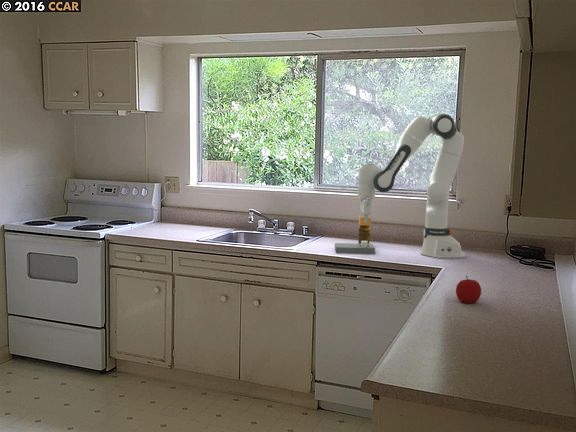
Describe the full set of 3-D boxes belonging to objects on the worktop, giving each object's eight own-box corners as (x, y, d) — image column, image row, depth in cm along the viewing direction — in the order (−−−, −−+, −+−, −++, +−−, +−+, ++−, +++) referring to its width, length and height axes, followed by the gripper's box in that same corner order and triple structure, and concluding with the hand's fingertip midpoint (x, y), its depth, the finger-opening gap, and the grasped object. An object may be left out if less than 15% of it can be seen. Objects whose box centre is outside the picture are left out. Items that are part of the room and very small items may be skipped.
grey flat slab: (372, 249, 329) (372, 242, 328) (374, 254, 317) (375, 247, 316) (334, 248, 329) (334, 241, 329) (335, 252, 317) (336, 246, 317)
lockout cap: (369, 223, 324) (369, 216, 323) (370, 225, 318) (371, 217, 318) (358, 223, 324) (359, 215, 323) (359, 225, 318) (360, 217, 318)
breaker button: (366, 250, 324) (367, 240, 324) (367, 251, 321) (367, 241, 321) (360, 250, 324) (361, 240, 324) (361, 251, 322) (361, 241, 321)
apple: (469, 306, 225) (471, 279, 224) (449, 300, 232) (451, 274, 231) (485, 303, 230) (487, 276, 229) (465, 297, 238) (467, 271, 236)
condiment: (372, 245, 342) (373, 223, 340) (362, 246, 336) (363, 225, 335) (362, 243, 347) (363, 222, 346) (352, 244, 341) (353, 223, 340)
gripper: (374, 197, 308) (373, 224, 310) (370, 193, 329) (368, 218, 331) (361, 196, 309) (360, 224, 311) (358, 192, 329) (357, 218, 331)
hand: (364, 221), depth 321 cm, fingers closed on lockout cap, 6 cm apart
